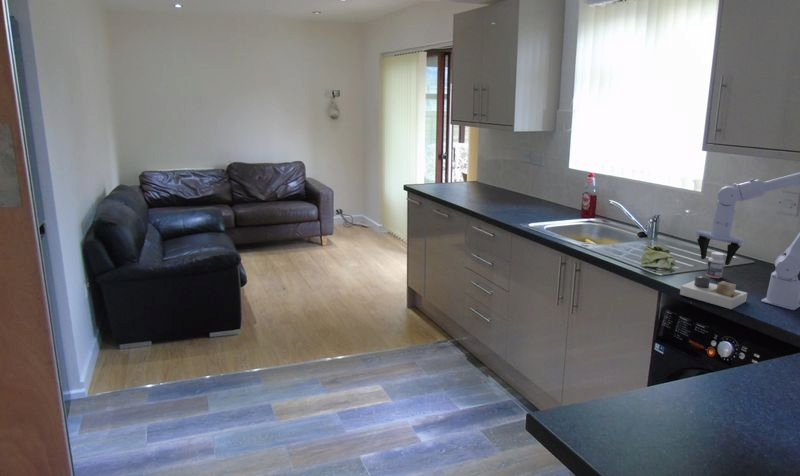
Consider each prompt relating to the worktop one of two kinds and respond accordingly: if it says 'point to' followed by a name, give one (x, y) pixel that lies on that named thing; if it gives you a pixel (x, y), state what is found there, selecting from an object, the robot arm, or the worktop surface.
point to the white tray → (711, 293)
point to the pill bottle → (715, 265)
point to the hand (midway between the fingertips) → (715, 261)
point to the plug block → (726, 289)
